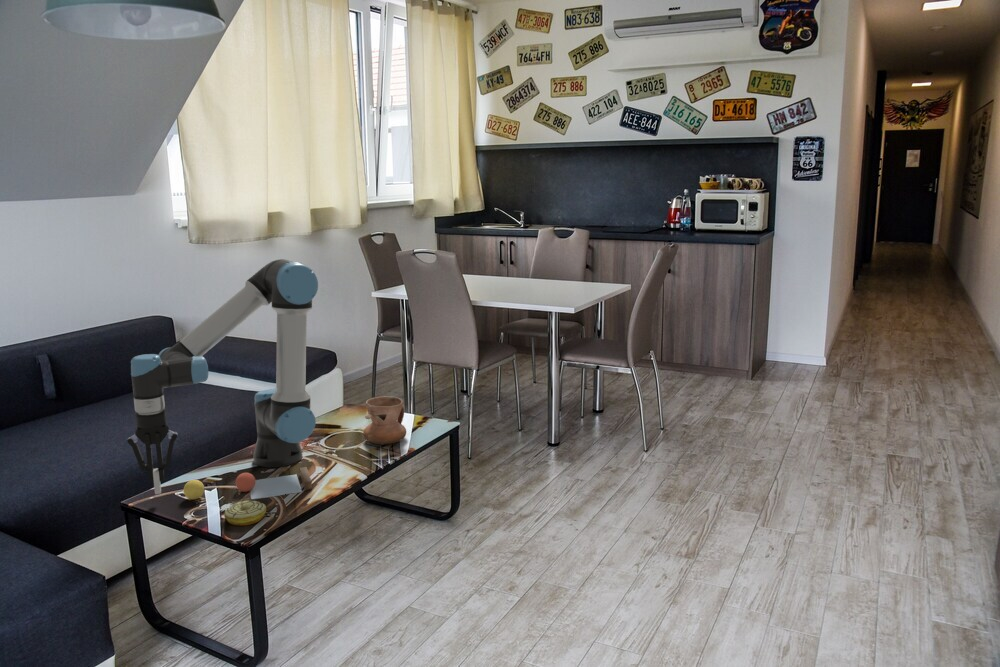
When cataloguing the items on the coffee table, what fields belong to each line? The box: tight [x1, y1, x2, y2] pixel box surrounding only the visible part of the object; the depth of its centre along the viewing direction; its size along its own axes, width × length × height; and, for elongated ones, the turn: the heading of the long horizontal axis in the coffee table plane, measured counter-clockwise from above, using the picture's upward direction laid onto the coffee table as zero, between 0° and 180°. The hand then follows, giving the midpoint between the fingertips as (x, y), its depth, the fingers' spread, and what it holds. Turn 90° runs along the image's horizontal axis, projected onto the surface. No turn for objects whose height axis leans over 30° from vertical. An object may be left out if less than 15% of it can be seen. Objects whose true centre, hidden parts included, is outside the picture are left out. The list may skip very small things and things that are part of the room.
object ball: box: [235, 472, 256, 493], centre depth 228 cm, size 6×6×6 cm
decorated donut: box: [224, 500, 267, 527], centre depth 211 cm, size 10×11×4 cm
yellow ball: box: [183, 479, 205, 500], centre depth 224 cm, size 6×6×6 cm
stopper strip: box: [299, 466, 313, 491], centre depth 234 cm, size 2×12×2 cm, turn 20°
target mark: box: [249, 473, 303, 501], centre depth 232 cm, size 14×14×1 cm
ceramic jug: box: [363, 395, 407, 445], centre depth 268 cm, size 18×14×14 cm
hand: (158, 492), depth 220 cm, fingers closed
